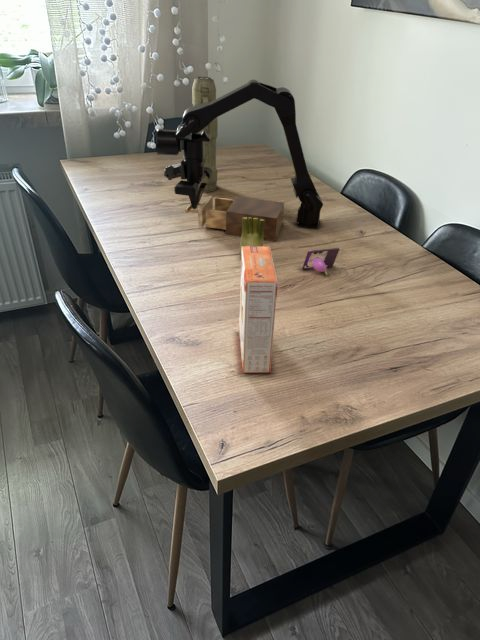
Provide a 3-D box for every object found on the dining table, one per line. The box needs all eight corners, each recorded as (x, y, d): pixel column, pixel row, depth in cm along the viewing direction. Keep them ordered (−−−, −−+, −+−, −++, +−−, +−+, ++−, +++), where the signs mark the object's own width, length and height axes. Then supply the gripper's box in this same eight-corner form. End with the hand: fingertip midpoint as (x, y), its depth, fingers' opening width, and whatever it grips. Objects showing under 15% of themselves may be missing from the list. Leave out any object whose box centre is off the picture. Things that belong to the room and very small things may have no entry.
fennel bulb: (263, 259, 139) (267, 217, 132) (254, 266, 135) (256, 223, 128) (246, 253, 141) (248, 212, 134) (236, 259, 138) (237, 217, 131)
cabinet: (225, 234, 151) (226, 211, 146) (235, 217, 161) (236, 196, 157) (275, 241, 149) (277, 218, 145) (282, 224, 159) (284, 202, 155)
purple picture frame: (338, 245, 133) (306, 248, 130) (345, 260, 131) (313, 263, 128) (331, 263, 139) (300, 266, 136) (337, 277, 136) (307, 281, 133)
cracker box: (237, 333, 110) (240, 244, 97) (264, 333, 111) (271, 245, 98) (240, 374, 99) (244, 280, 86) (270, 374, 99) (279, 280, 87)
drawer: (182, 224, 152) (182, 207, 149) (194, 210, 162) (194, 193, 158) (244, 233, 150) (245, 215, 147) (252, 218, 159) (253, 201, 156)
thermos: (195, 193, 175) (194, 81, 154) (189, 182, 184) (186, 74, 163) (220, 192, 178) (222, 81, 157) (213, 181, 187) (213, 74, 166)
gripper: (177, 144, 154) (179, 194, 163) (155, 161, 139) (158, 216, 148) (212, 148, 152) (212, 199, 162) (194, 166, 138) (195, 221, 147)
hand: (194, 208), depth 155 cm, fingers closed
